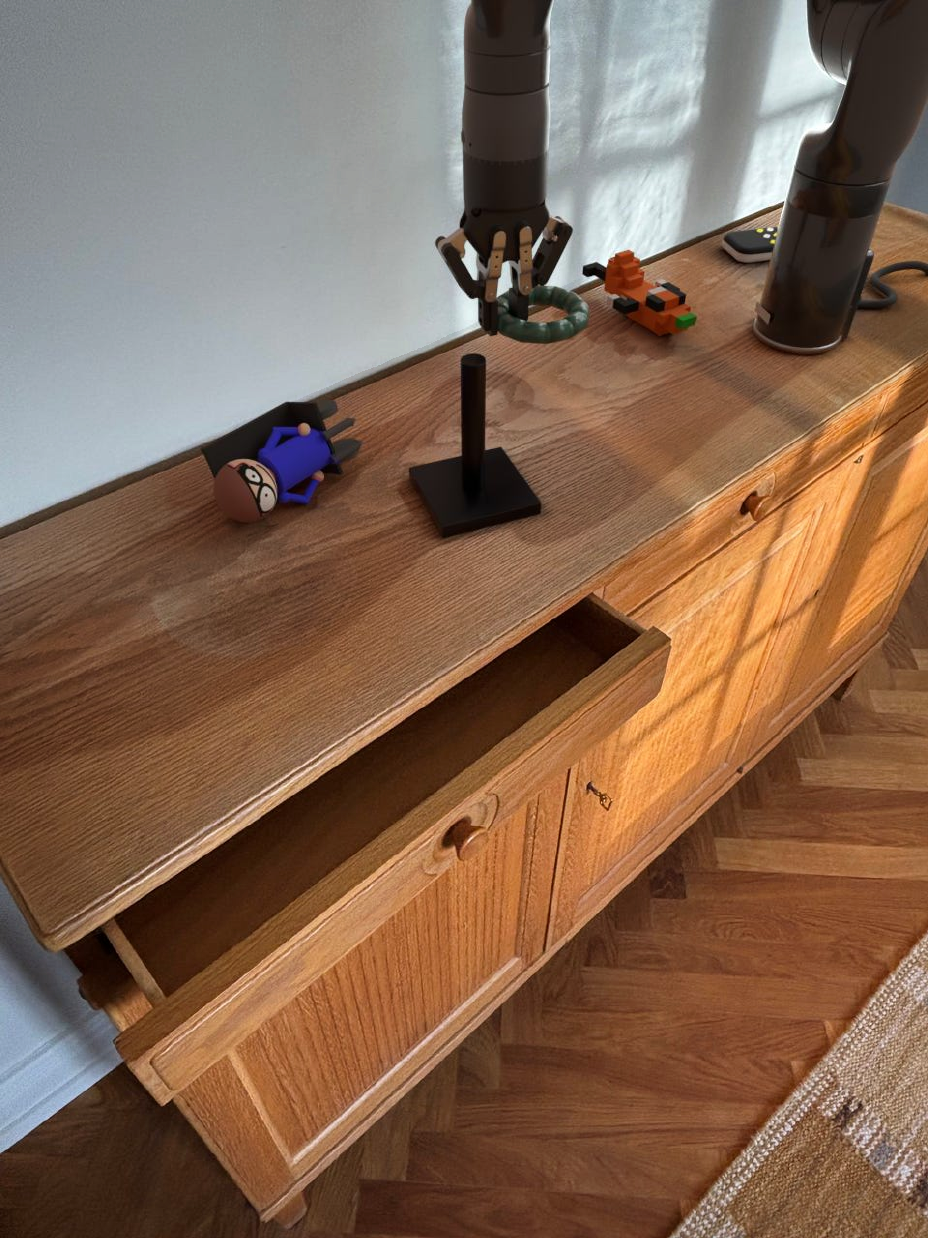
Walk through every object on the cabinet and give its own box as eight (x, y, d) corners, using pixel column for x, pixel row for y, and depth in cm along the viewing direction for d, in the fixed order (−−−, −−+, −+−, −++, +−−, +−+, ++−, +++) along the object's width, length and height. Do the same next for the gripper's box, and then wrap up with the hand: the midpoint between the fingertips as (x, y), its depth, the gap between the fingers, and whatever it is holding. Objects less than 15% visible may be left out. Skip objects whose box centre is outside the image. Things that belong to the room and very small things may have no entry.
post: (500, 456, 81) (504, 323, 71) (540, 513, 75) (550, 375, 65) (409, 478, 78) (400, 343, 69) (442, 538, 73) (438, 399, 63)
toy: (632, 234, 101) (723, 282, 92) (625, 284, 106) (712, 334, 97) (577, 250, 98) (665, 300, 89) (573, 301, 103) (657, 354, 94)
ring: (562, 293, 93) (563, 275, 91) (605, 335, 86) (607, 316, 85) (475, 310, 90) (475, 291, 89) (512, 355, 84) (513, 336, 82)
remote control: (717, 245, 113) (720, 230, 112) (805, 235, 115) (809, 220, 114) (739, 265, 109) (742, 249, 108) (830, 254, 111) (834, 238, 110)
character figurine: (378, 473, 79) (248, 556, 72) (324, 439, 82) (194, 514, 75) (375, 401, 74) (233, 483, 66) (317, 367, 77) (175, 441, 69)
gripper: (445, 168, 71) (451, 360, 83) (597, 144, 74) (581, 333, 86) (416, 140, 76) (426, 326, 88) (560, 119, 79) (550, 301, 91)
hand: (503, 329), depth 87 cm, fingers closed on ring, 2 cm apart
